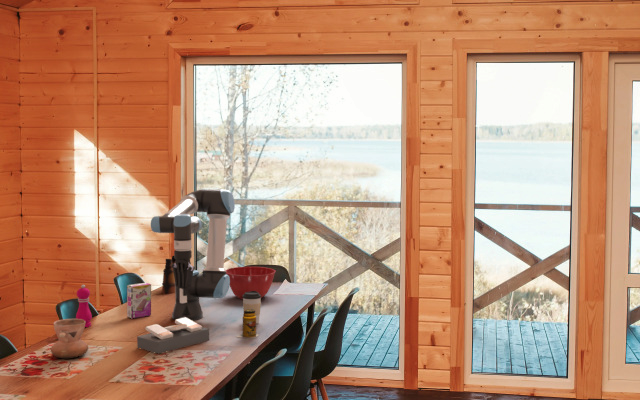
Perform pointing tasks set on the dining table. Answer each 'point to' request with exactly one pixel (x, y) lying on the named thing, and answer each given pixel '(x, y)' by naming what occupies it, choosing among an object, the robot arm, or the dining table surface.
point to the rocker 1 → (159, 331)
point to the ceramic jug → (69, 338)
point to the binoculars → (168, 277)
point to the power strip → (172, 340)
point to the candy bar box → (138, 300)
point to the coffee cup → (252, 302)
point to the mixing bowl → (250, 280)
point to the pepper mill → (84, 306)
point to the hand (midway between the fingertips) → (183, 302)
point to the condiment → (249, 324)
